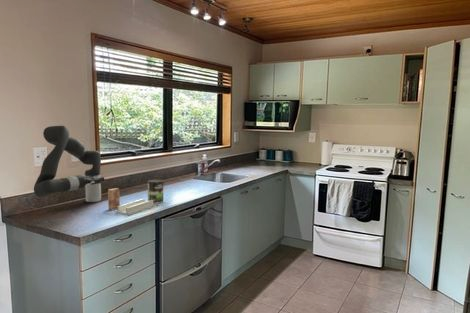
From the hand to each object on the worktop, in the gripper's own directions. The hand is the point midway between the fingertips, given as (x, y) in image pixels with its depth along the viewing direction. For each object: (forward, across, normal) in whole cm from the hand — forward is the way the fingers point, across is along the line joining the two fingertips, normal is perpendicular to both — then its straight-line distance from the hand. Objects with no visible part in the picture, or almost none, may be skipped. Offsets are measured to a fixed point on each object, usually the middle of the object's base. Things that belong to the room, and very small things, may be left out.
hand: (98, 178), depth 197 cm
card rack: (+16, -13, +20) cm, 29 cm away
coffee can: (+36, -11, +21) cm, 43 cm away
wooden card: (+11, 0, +20) cm, 23 cm away
